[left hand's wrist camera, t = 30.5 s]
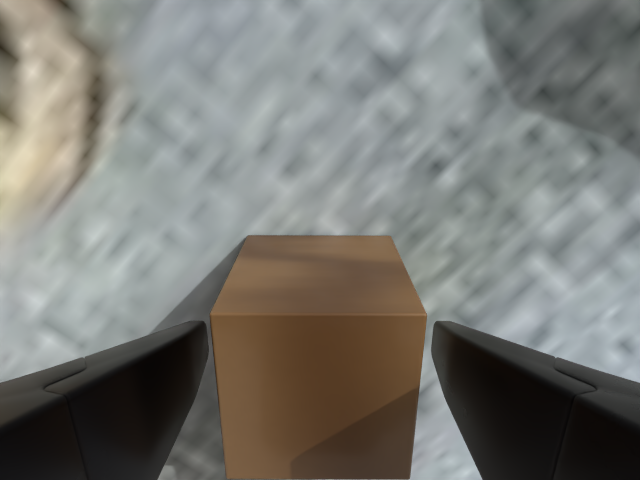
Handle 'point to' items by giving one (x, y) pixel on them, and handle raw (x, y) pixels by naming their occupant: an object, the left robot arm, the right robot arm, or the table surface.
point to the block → (318, 359)
